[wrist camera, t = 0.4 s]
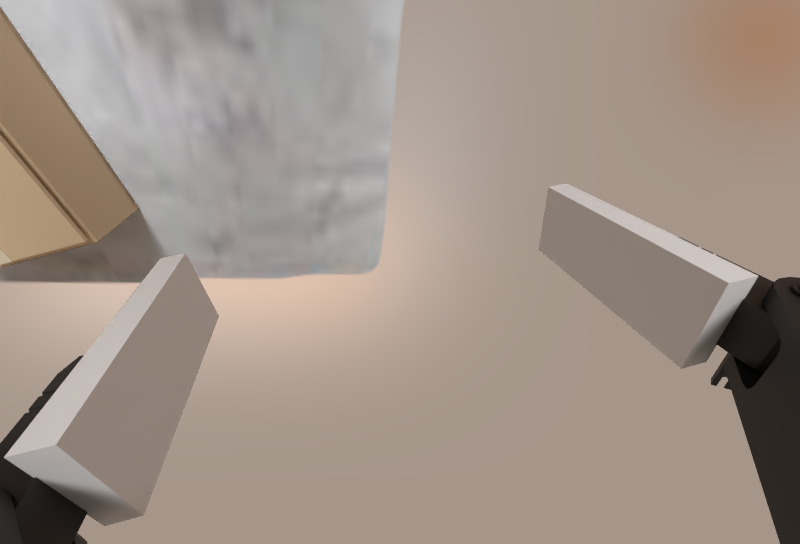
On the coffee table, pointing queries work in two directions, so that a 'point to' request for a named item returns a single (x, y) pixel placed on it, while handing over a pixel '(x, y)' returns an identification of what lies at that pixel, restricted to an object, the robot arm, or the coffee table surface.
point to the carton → (48, 165)
